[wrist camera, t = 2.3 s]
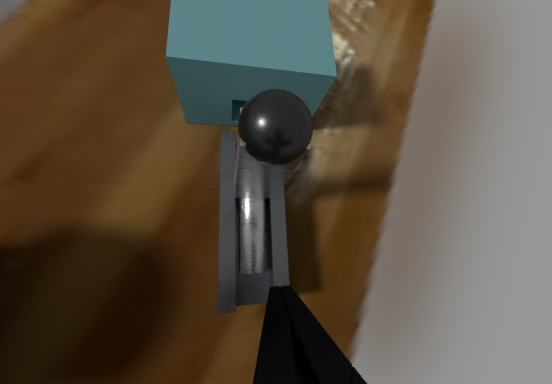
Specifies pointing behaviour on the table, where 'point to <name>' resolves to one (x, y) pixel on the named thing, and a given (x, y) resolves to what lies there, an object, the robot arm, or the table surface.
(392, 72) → the table surface
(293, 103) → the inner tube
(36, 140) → the table surface
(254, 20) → the socket block
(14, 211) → the table surface
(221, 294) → the outer sleeve
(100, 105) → the table surface
